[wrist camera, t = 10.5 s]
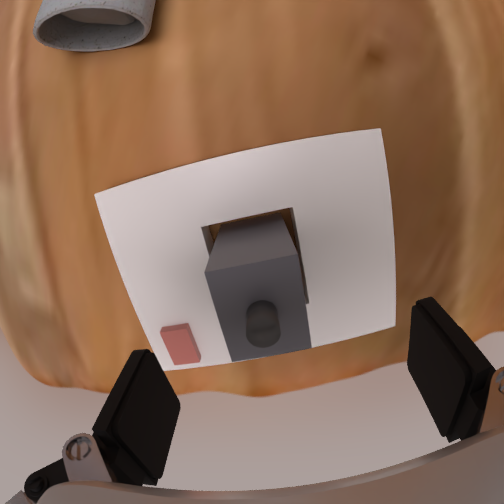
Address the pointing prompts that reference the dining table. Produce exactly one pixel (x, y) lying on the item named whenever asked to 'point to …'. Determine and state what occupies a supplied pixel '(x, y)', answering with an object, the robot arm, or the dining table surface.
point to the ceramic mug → (93, 23)
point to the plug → (258, 288)
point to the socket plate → (247, 204)
